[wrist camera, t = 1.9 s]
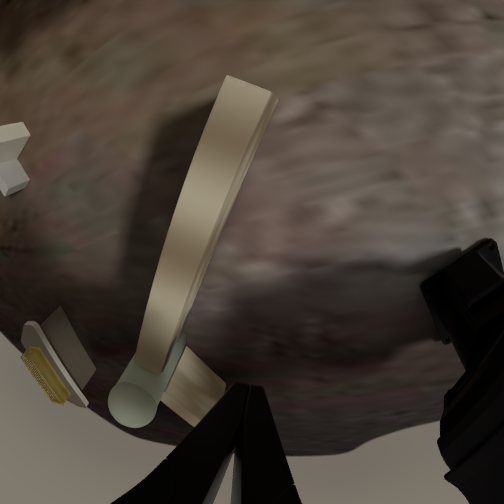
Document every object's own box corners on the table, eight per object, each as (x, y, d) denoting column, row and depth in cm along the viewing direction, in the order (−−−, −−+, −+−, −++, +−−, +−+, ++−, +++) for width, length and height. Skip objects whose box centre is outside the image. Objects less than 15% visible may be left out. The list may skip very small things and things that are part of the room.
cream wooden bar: (184, 328, 22) (160, 377, 17) (160, 317, 22) (131, 362, 17) (280, 100, 15) (274, 92, 10) (245, 86, 15) (224, 74, 10)
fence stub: (226, 383, 25) (213, 430, 20) (216, 387, 25) (202, 432, 21) (186, 345, 23) (165, 392, 19) (176, 350, 24) (155, 395, 19)
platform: (77, 390, 31) (53, 427, 25) (6, 262, 24) (-36, 293, 18) (155, 402, 29) (133, 451, 23) (79, 246, 22) (26, 288, 16)
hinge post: (196, 342, 23) (157, 434, 15) (169, 355, 24) (128, 439, 16) (168, 313, 22) (116, 401, 14) (143, 328, 23) (91, 409, 15)
